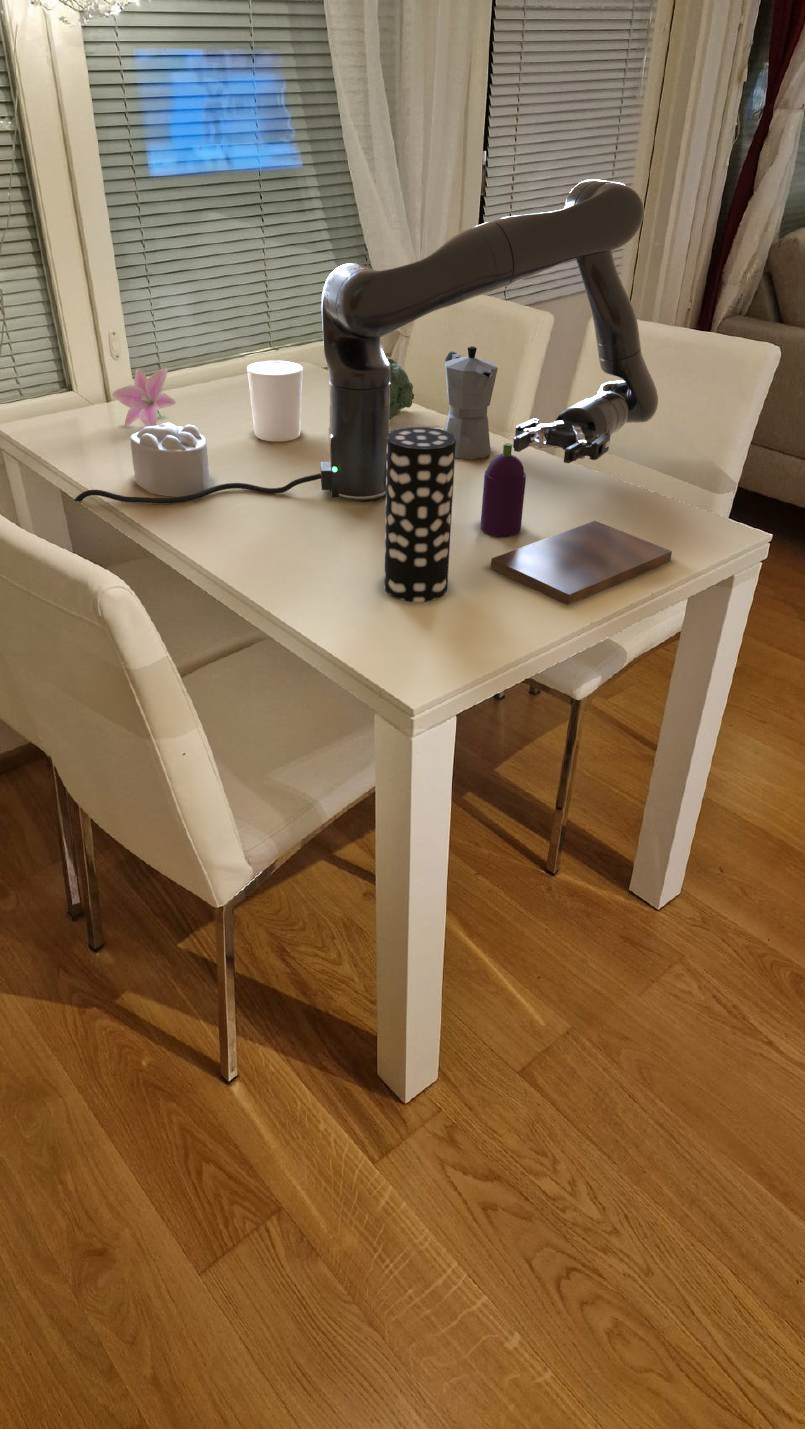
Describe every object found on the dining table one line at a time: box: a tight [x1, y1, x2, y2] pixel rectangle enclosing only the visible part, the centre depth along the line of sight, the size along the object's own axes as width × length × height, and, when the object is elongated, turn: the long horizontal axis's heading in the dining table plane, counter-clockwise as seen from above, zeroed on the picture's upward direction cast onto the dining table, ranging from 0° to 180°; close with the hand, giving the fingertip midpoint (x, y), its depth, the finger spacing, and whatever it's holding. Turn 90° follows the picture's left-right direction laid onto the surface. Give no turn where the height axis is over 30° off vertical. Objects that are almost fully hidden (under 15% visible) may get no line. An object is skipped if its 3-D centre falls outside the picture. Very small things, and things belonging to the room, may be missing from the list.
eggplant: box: [479, 442, 527, 538], centre depth 143 cm, size 6×6×13 cm
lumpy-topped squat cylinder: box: [129, 422, 211, 498], centre depth 156 cm, size 10×13×9 cm
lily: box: [111, 366, 177, 427], centre depth 182 cm, size 12×12×10 cm
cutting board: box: [490, 520, 673, 606], centre depth 136 cm, size 22×14×2 cm, turn 131°
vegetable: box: [385, 356, 415, 422], centre depth 188 cm, size 12×13×15 cm
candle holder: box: [246, 360, 304, 443], centre depth 177 cm, size 10×10×12 cm
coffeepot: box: [443, 345, 498, 460], centre depth 171 cm, size 15×9×18 cm, turn 25°
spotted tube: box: [383, 426, 456, 603], centre depth 124 cm, size 8×8×20 cm
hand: (541, 451), depth 149 cm, fingers open, 8 cm apart
